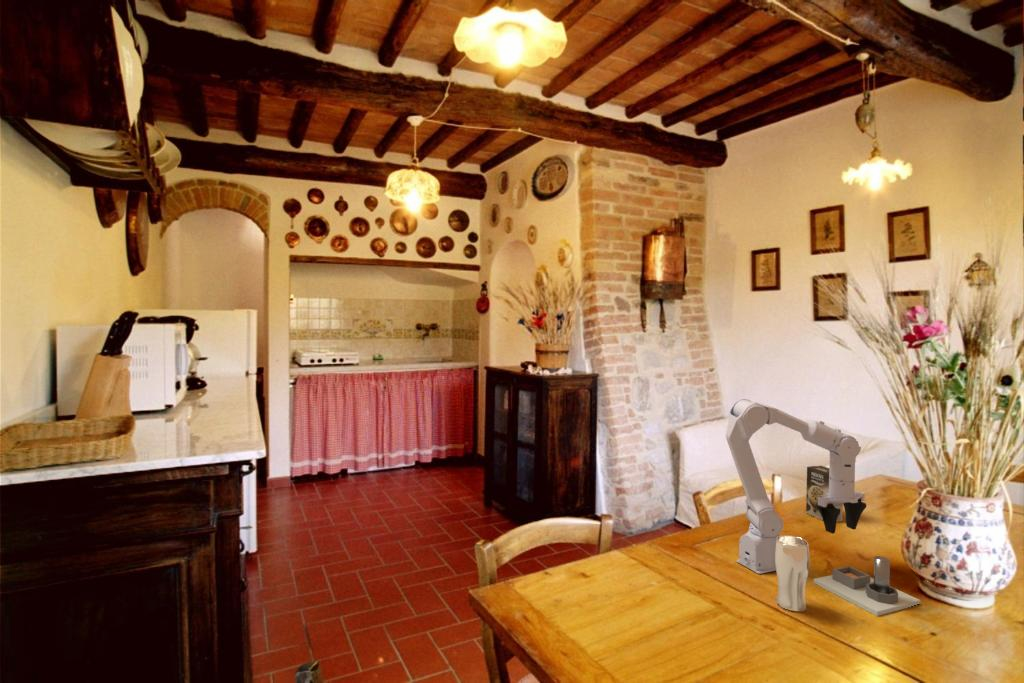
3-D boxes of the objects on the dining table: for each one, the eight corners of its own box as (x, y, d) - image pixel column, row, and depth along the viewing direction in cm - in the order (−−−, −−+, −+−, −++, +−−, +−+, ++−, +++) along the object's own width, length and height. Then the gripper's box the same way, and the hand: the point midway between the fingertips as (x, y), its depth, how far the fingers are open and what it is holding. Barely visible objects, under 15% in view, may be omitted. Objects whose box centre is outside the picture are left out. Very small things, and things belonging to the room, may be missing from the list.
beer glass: (790, 615, 118) (791, 548, 118) (767, 599, 125) (768, 536, 124) (815, 611, 120) (817, 545, 120) (791, 595, 127) (793, 533, 126)
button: (852, 586, 129) (852, 581, 129) (839, 579, 132) (839, 575, 132) (863, 583, 130) (863, 579, 130) (849, 577, 133) (849, 572, 133)
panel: (877, 616, 118) (877, 600, 118) (813, 582, 133) (813, 569, 133) (920, 604, 123) (920, 589, 123) (854, 573, 138) (854, 560, 138)
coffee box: (804, 513, 181) (805, 466, 180) (819, 511, 183) (820, 464, 182) (828, 523, 172) (829, 473, 172) (843, 521, 174) (844, 472, 173)
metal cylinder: (882, 601, 122) (883, 562, 122) (870, 594, 125) (870, 556, 125) (892, 599, 123) (893, 560, 123) (880, 593, 126) (880, 555, 126)
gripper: (835, 486, 134) (834, 539, 135) (876, 480, 139) (875, 531, 140) (811, 478, 141) (810, 529, 142) (850, 473, 146) (849, 522, 147)
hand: (840, 530), depth 141 cm, fingers open, 7 cm apart
